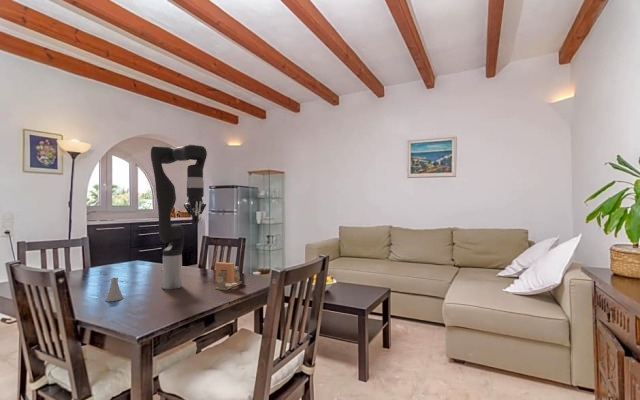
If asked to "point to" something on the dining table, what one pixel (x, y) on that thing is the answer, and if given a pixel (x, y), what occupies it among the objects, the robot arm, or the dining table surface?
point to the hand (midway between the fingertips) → (195, 223)
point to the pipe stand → (222, 280)
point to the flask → (114, 291)
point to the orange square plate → (229, 271)
